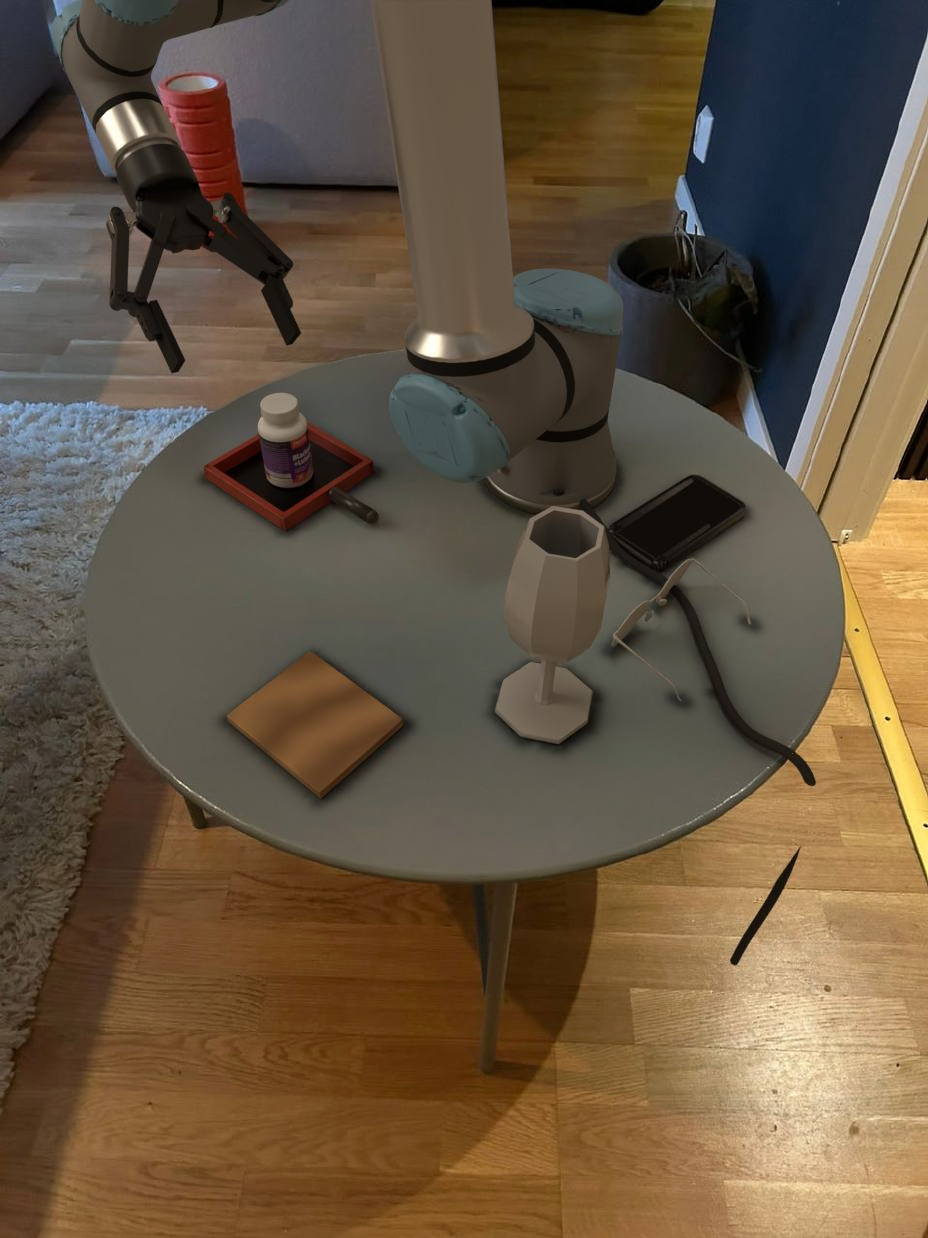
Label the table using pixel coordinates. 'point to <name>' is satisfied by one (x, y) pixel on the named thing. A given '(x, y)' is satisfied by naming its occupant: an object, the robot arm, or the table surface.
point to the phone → (676, 522)
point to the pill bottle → (284, 441)
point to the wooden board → (315, 723)
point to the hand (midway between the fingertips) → (238, 353)
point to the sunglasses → (642, 608)
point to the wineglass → (554, 621)
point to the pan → (289, 506)
